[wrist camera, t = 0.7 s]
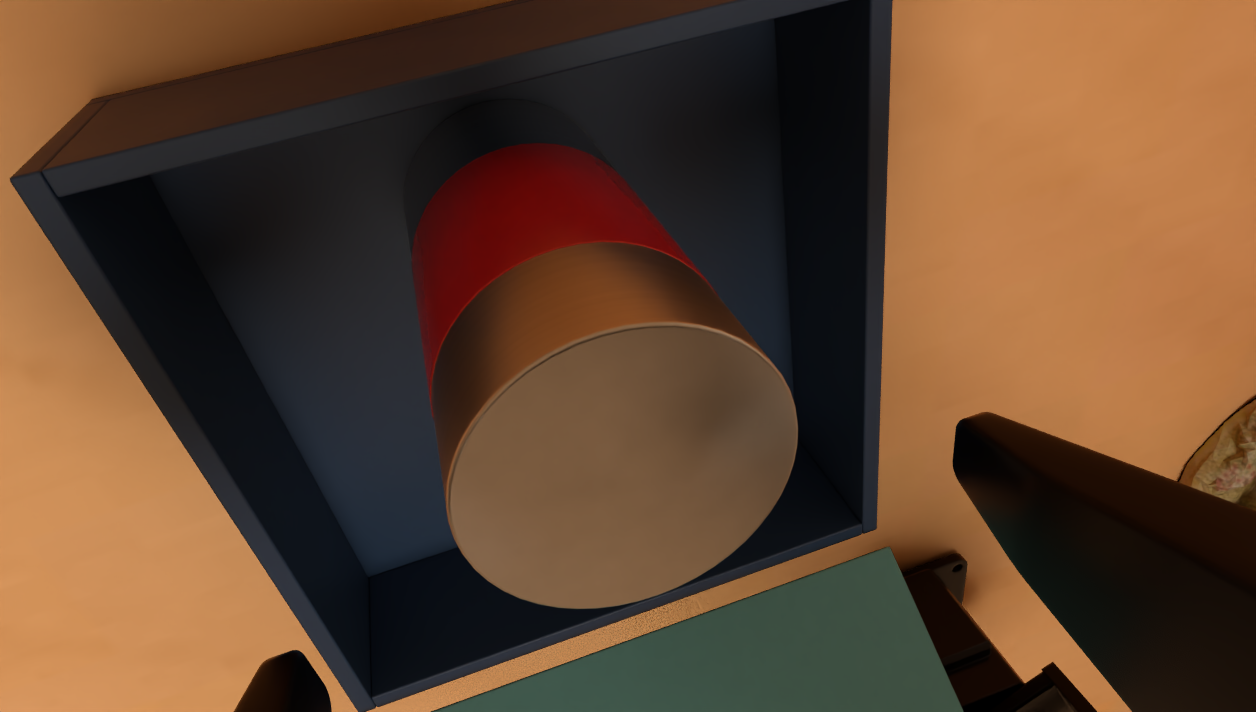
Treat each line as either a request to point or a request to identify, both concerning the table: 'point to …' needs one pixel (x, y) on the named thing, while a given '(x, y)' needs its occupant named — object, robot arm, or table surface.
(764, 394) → the can
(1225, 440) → the ceramic model
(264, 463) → the dark blue open box
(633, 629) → the table surface
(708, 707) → the lid
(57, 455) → the table surface
